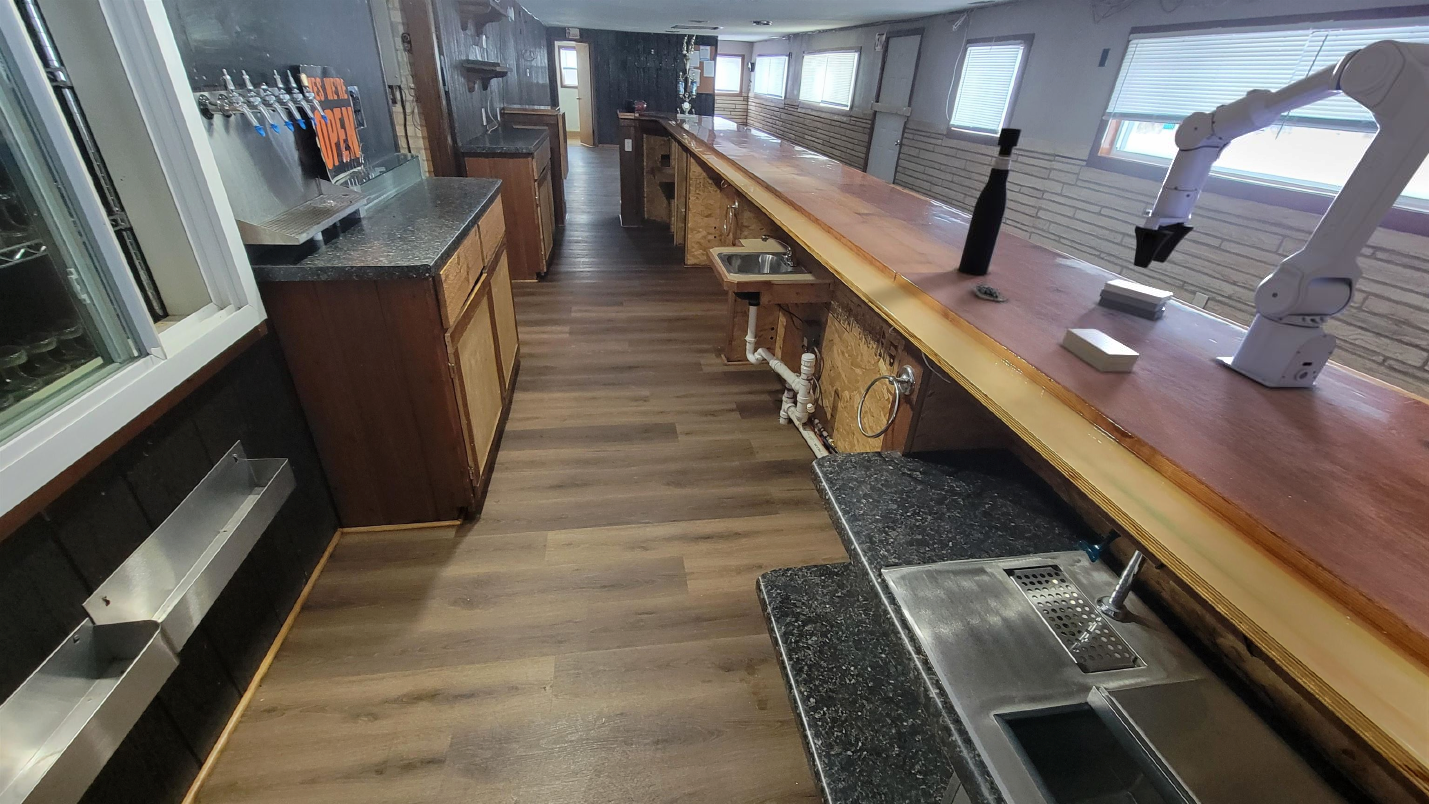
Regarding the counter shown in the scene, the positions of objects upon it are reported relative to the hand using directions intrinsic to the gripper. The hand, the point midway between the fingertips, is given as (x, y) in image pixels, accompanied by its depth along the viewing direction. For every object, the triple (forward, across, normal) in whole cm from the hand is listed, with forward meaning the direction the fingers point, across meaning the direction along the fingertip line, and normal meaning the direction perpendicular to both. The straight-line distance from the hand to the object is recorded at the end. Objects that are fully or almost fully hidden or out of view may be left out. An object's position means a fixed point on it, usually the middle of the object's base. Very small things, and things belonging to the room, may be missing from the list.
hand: (1149, 264), depth 107 cm
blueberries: (+9, +18, -19) cm, 28 cm away
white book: (+6, 0, 0) cm, 6 cm away
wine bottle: (+9, +5, -32) cm, 33 cm away
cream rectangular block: (+9, +31, +8) cm, 33 cm away
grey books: (+9, 0, 0) cm, 9 cm away
